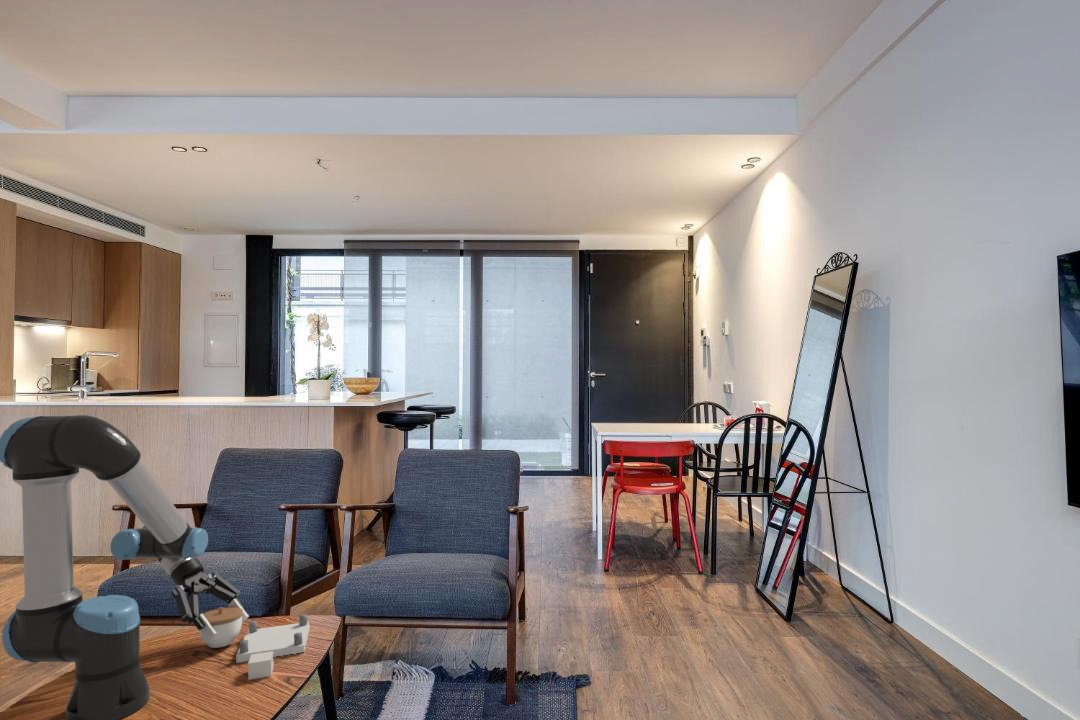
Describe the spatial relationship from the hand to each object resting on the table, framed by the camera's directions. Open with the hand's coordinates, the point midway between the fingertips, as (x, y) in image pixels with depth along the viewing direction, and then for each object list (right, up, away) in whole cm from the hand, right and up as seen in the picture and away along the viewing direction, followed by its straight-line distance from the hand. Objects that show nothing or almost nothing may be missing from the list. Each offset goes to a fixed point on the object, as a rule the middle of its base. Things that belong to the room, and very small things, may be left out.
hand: (229, 628), depth 164 cm
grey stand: (+12, -5, 0) cm, 13 cm away
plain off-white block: (+16, -4, -16) cm, 23 cm away
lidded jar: (-3, -5, +1) cm, 5 cm away
